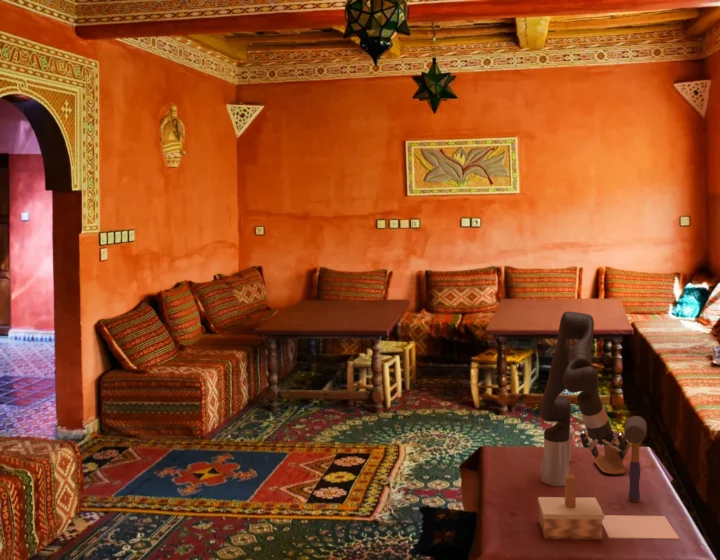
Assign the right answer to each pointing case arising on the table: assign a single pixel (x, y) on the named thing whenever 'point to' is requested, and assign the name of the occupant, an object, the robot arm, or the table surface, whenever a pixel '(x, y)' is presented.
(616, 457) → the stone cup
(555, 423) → the coffee cup
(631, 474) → the rubber mallet
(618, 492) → the table surface
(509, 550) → the table surface
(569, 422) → the robot arm
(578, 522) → the wooden box
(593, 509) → the lid
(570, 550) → the table surface
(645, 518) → the mat
